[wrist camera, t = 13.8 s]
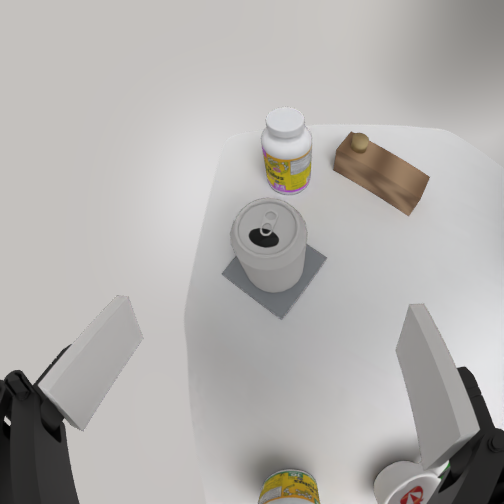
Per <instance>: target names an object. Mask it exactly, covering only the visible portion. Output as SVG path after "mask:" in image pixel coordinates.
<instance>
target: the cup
mask: <svg viewBox="0 0 504 504" xmlns="http://www.w3.org/2000/svg"><path fill="white" fill-rule="evenodd" d="M448 463H449V460H448V461H447V462H446V463H445V464H443V465H442V466H441V467H438V468H434V469H430V470H427V471H423V464H422V461H421V462H420V463H413V462H410V461H399V462H395V463H393V464H391V465H389V466H387V467H386V468H384V469H383V470H382V471H381V472H380V473H379V475H378V476H377V478H376V480H375V482H374V494H375V497H376V500H377V503H378V504H427V502H428V500H429V499H430V497H431V496H432V494H433V493H434V491H435V489H436V488H437V486H438V484H439V483H440V481H441V478H437V477H438V476H439V475H440V474H441V473H442V472H443V471H444V469H445V468H446V467H447V465H448Z"/></svg>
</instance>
